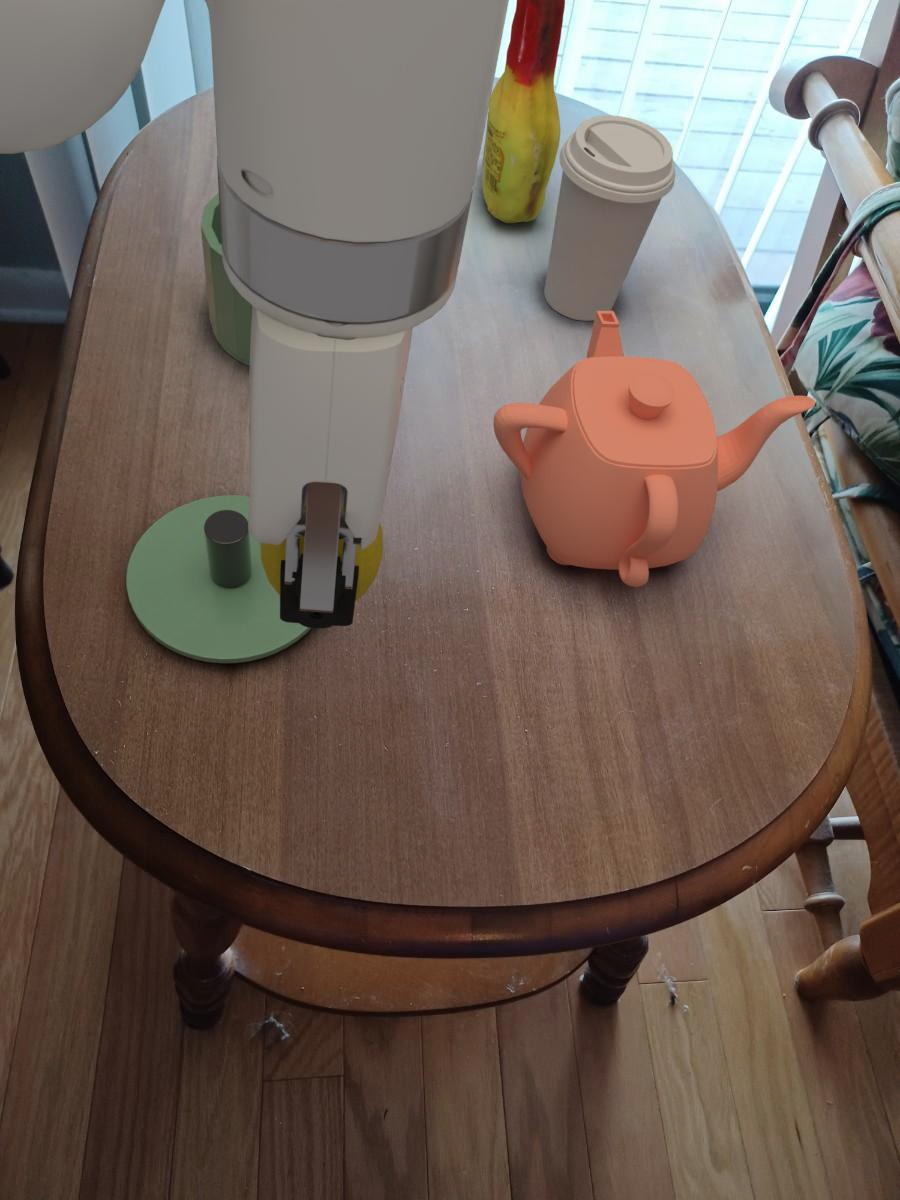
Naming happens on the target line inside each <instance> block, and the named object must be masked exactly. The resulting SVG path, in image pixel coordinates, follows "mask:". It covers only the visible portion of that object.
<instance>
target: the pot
mask: <svg viewBox="0 0 900 1200" xmlns="http://www.w3.org/2000/svg"><path fill="white" fill-rule="evenodd" d="M200 222H201V223H200V233H201V241H202V242H201V243H202V252H203V253H202V254H203V263H204V264H203V265H204V275H205V284H206V285H205V286H206V295H207V297H206V298H207V307H208V316H209V317H208V319H209V322H210V324H211V329H212V333H213V335H214V337H215V339H216V342H217V343H218V344H219V345H220V347H221V348H222V349H223V350H224V351H225V352H226V353H227V354H228V355H230V356H231V357H232V358H233V359H234V360H237V361H238V362H240V363H242V364H244V365H246V366H248V367H250V343H251V322H252V307H253V306H252V305H251V304H250V303H249V302H248V301H247V300H246V299H244V298H243V297H242V296H241V295H240V293H239V292H238V291H237V290H236V288H235V287H234V286H233V285H232V283H231V282H230V280H229V278H228V275H227V273H226V271H225V269H224V264H223V260H222V240H221V227H220V208H219V191H218V192H216V194H215V195H214V196H213V197H212V198H211V199H210V200H209V201H208V202H207V203H206V204H205V206H204V208H203V212H202V217H201V221H200Z"/></svg>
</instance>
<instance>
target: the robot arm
mask: <svg viewBox="0 0 900 1200" xmlns="http://www.w3.org/2000/svg"><path fill="white" fill-rule="evenodd" d="M165 2H166V0H0V155H1V154H2V155H15V154H21V153H27V152H32V151H38V150H39V151H40V150H44V149H48V148H51V147H55V146H57V145H59V144H62V143H64V142H66V141H68V140H70V139H72V138H74V137H76V136H79V135H81V134H82V133H84V132H85V131H87V130H89V129H90V128H91V127H93V125H95V124H96V123H97V122H98V121H99V120H100V119H102V118H103V117H104V116H106V114H107V113H109V112H110V111H111V110H112V109H113V108H114V107H115V106H116V104H117V103H118V102H119V101H120V99H121V98H122V97H123V96H124V94H125V93H126V91H127V90H128V89H129V87H130V86H131V84H132V83H133V81H134V79H135V78H136V76H137V74H138V72H139V70H140V68H141V65H142V64H143V62H144V59H145V57H146V54H147V52H148V48H149V46H150V43H151V41H152V37H153V35H154V32H155V29H156V26H157V23H158V22H159V18H160V15H161V13H162V10H163V8H164V5H165ZM204 2H205V4H206V7H207V11H208V18H209V28H210V42H211V43H210V44H211V61H212V62H211V63H212V79H213V80H212V81H213V83H212V84H213V100H214V101H213V102H214V119H215V137H216V167H217V168H216V169H217V186H218V192H219V208H220V227H221V240H222V260H223V264H224V269H225V271H226V273H227V275H228V278H229V280H230V282H231V283H232V285H233V286H234V287H235V288H236V290H237V291H238V292H239V293H240V295H241V296H242V297H243V298H244V299H246V300H247V301H248V302H249V303H250V304H251V305H252V306H253V307H252V322H251V343H250V366H249V379H248V380H249V381H248V382H249V384H248V385H249V386H248V387H249V388H248V390H249V391H248V421H249V422H248V462H249V463H248V496H249V517H248V530H249V532H250V534H251V535H252V537H253V538H254V539H255V540H256V541H257V542H258V543H266V544H273V545H279V544H281V543H282V542H283V541H284V540H285V538H286V537H287V538H286V560H281V568H280V619H281V620H282V621H284V622H289V623H300V624H301V625H302V626H305V627H309V628H311V629H328V628H331V627H334V626H335V627H348V626H351V625H353V622H354V615H355V609H356V608H355V607H356V602H355V600H356V592H357V584H358V576H359V566H356V565H355V556H356V546H357V545H360V550H363V549H365V548H366V547H368V546H369V545H370V544H371V543H372V542H373V541H374V540H375V539H376V535H377V532H378V527H379V523H381V518H382V513H383V507H384V504H385V497H386V493H387V488H388V483H389V477H390V472H391V467H392V462H393V461H392V460H393V455H394V450H395V444H396V438H397V434H398V433H397V432H398V426H399V420H400V414H401V409H402V402H403V397H404V388H405V381H406V375H407V369H408V362H409V356H410V350H411V342H412V335H413V329H414V328H415V327H418V326H419V325H421V324H424V323H425V322H426V321H428V320H431V318H432V317H434V316H435V315H436V314H437V313H438V312H440V311H441V310H442V309H443V308H444V307H445V306H446V304H447V302H448V301H449V299H450V298H451V296H452V294H453V292H454V289H455V286H456V282H457V276H458V272H459V271H458V269H459V266H460V261H461V257H462V256H461V255H462V251H463V246H464V240H465V235H466V229H467V225H468V219H469V214H470V209H471V203H472V198H473V193H474V186H475V181H476V177H477V176H476V175H477V172H478V163H479V160H480V155H481V152H482V151H481V150H482V145H483V139H484V135H485V128H486V125H487V120H488V111H489V103H490V98H491V95H492V92H493V88H494V81H495V77H496V70H497V65H498V60H499V55H500V50H501V46H502V45H501V44H502V39H503V33H504V28H505V24H506V18H507V12H508V7H509V2H510V0H204ZM305 505H306V506H307V508H306V509H304V506H305ZM341 508H342V509H343V512H341ZM301 536H305V538H304V553H303V554H302V553H301V557H300V540H301ZM339 539H343V549H342V561H341V556H337V554H338V541H339ZM299 558H300V559H299Z"/></svg>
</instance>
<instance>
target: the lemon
mask: <svg viewBox="0 0 900 1200" xmlns="http://www.w3.org/2000/svg"><path fill="white" fill-rule="evenodd" d="M306 508H307V506H306V505H305V506H304V509H306ZM341 512H343V509H342V508H341ZM286 538H287V537H286ZM286 538H285V540H284V541H283V542H282V543H281V544H279V545H273V544H266V543H260V546H261V560H262V565H263V568H264V570H265V573H266V575H267V578H268V580H269V582H270V584H271V585H272V587H273V588H274V589H275V590H276V592H277V593H278V594H279V595H280V568H281V560H286ZM304 538H305V536H301V540H300V557H301V553H302V554H303V553H304ZM342 549H343V539H339V541H338V554H337V556H341V561H342ZM383 553H384V534H383V528H382V523H381V522H380V523H379V527H378V532H377V535H376V539H375V540H374V541H373V542H372V543H371V544H370V545H369V546H368V547H366V548H365V549H363V550H360V545H357V546H356V556H355V565H356V566H359V576H358V584H357V592H356V600H355V603H356V602H357V601H358V600H359V599H361V598H362V597H363V596H364V595H366V593H367V592H368V590H369V589H370V587H371V586H372V584H373V583H374V581H375V579H376V577H377V575H378V572H379V568H380V567H381V564H382V560H383ZM299 559H300V558H299Z"/></svg>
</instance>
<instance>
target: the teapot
mask: <svg viewBox="0 0 900 1200" xmlns="http://www.w3.org/2000/svg"><path fill="white" fill-rule="evenodd" d="M622 345H623V344H622V338H621V334H620V322H619V320H618V317H617V315H616V313H615V311H614V310H611V311H596V316H595V320H593V325H592V329H591V334H590V338H589V345H588V348H587V352H586V357H585V358H582V359H581V360H579V361H577V362H576V363H575V364H573V366H571V367H570V368H569V369H568V370H567V371H566V372H565V373H564V374H563V375H562V376H561V377H560V378H559V379H558V380H557V381H556V382H555V383H554V384H553V385H552V386H551V387H550V388H549V390H548V391H547V392H546V393H545V395H544V396H543V398H542V399H541V400H540V402H539V403H532V402H511V403H507V404H505V405H502V406H501V407H500V408H498V409H497V410H496V412H495V414H494V415H493V424H492V425H493V431H494V435H495V439H496V440H497V442H498V444H499V446H500V448H501V450H502V451H503V452H504V453H505V455H506V456H507V458H508V459H509V460H510V462H512V464H513V465H514V466H515V467H516V469H517V470H518V471H519V474H520V475H519V476H520V484H521V490H522V495H523V499H524V501H525V504H526V507H527V510H528V513H529V515H530V518H531V520H532V522H533V524H534V526H535V528H536V530H537V532H538V534H539V536H540V538H541V540H542V542H543V543H544V544H545V546H546V552H547V554H548V556H549V557H550V559H551V560H552V561H554V562H555V563H557V564H559V565H563V566H574V567H580V568H585V569H595V570H617V571H618V574H619V577H620V579H621V581H622V582H623V583H624V584H625V585H627V586H630V587H634V588H639V587H642V586H645V585H646V584H647V583H648V581H649V575H650V572H649V569H653V568H659V567H661V568H662V567H666V566H670V565H673V564H675V563H678V562H681V561H684V560H686V559H688V558H689V557H690V556H692V555H693V554H694V553H695V552H697V551H698V549H700V548H701V545H702V544H703V542H704V540H705V538H706V535H707V533H708V530H709V529H710V528H709V527H710V525H711V522H712V520H713V519H712V518H713V515H714V512H715V507H716V501H717V496H718V495H717V494H718V492H720V491H722V490H724V489H726V488H728V487H729V486H731V485H732V484H734V483H736V481H738V480H739V479H740V478H741V477H742V476H743V475H744V474H745V473H746V472H747V471H748V470H749V468H750V467H751V466H752V464H753V463H754V461H755V460H756V458H757V456H758V455H759V453H760V452H761V450H762V448H763V447H764V445H765V444H766V442H767V441H768V440H769V438H770V437H771V436H772V434H773V433H774V432H775V431H776V430H777V429H778V428H779V427H780V426H781V425H782V424H784V423H786V422H787V421H788V420H789V419H791V418H793V417H795V416H798V415H799V414H803V413H804V412H806V411H808V410H810V409H812V408H813V407H815V405H816V400H815V399H814V398H813V397H811V396H808V395H790V396H784V397H781V398H777V399H775V400H773V401H770V402H769V403H767V404H765V405H764V406H762V407H761V408H759V409H758V410H756V411H755V412H754V413H752V414H751V415H750V416H749V417H748V418H747V419H745V420H744V421H743V422H742V423H740V424H739V425H737V426H736V427H734V428H733V429H731V430H730V431H728V432H726V433H723V434H721V435H719V436H717V431H716V426H715V420H714V417H713V413H712V410H711V407H710V406H709V404H708V401H707V399H706V397H705V395H704V392H703V390H702V389H701V387H700V385H699V384H698V382H697V381H696V379H695V378H694V377H693V376H692V374H691V373H690V372H689V371H688V370H687V369H686V368H685V367H683V366H682V365H681V364H679V363H677V362H675V361H672V360H667V359H661V358H655V357H653V358H652V357H643V356H642V357H641V356H624V351H623V346H622ZM523 429H524V430H525V429H526V432H525V434H524V437H523V438H522V433H521V431H522V430H523Z"/></svg>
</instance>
